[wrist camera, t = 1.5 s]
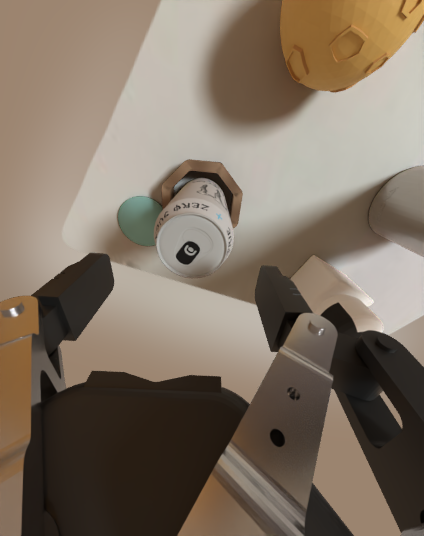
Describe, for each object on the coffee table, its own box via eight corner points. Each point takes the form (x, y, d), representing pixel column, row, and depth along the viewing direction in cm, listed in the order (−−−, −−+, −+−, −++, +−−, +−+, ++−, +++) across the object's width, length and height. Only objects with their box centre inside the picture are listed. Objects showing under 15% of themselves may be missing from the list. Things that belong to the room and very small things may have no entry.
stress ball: (273, -22, 17) (238, 57, 15) (438, -321, 9) (407, -229, 7) (335, 69, 21) (314, 141, 19) (490, -69, 13) (480, 35, 11)
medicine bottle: (312, 302, 35) (354, 365, 25) (281, 286, 33) (312, 346, 23) (344, 273, 32) (408, 331, 21) (312, 253, 30) (364, 306, 20)
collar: (244, 164, 24) (247, 165, 22) (233, 238, 29) (234, 245, 27) (165, 157, 24) (160, 157, 21) (167, 232, 28) (163, 239, 26)
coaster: (168, 198, 26) (168, 199, 26) (170, 246, 29) (169, 247, 29) (115, 193, 26) (114, 194, 25) (123, 242, 29) (122, 244, 29)
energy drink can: (234, 197, 26) (255, 241, 13) (206, 231, 28) (201, 297, 15) (197, 166, 24) (178, 181, 11) (171, 205, 26) (131, 255, 14)
